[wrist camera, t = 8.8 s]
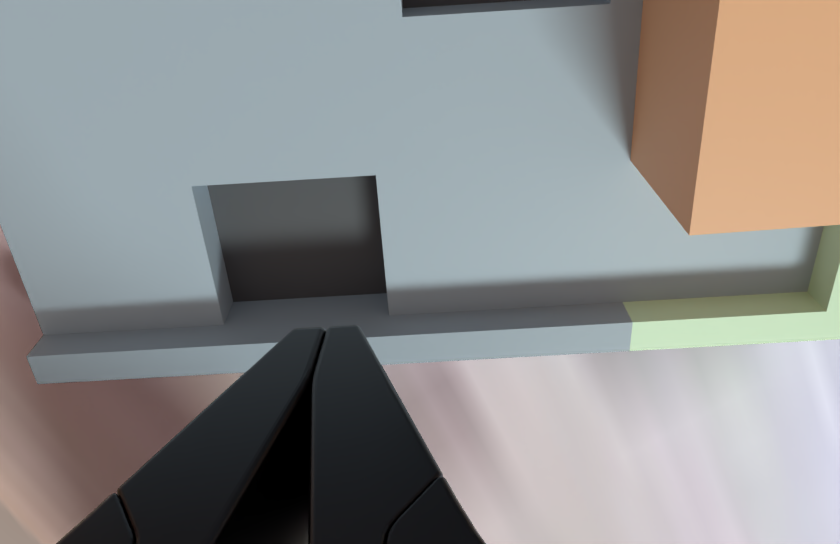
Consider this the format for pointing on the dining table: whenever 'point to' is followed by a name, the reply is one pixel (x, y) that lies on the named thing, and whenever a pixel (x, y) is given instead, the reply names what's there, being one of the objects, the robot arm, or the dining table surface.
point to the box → (359, 188)
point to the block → (740, 112)
